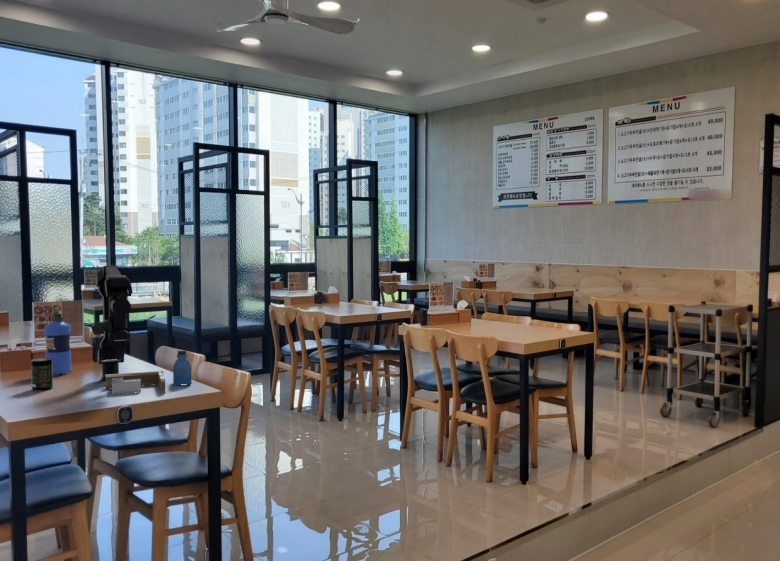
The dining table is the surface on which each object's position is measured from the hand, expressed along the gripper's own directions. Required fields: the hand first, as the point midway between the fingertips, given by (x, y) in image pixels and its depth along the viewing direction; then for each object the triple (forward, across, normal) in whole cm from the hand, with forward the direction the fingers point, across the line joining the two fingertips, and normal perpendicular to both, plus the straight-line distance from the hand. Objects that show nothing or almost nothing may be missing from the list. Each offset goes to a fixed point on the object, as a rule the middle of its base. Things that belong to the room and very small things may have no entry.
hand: (118, 357), depth 224 cm
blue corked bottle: (+12, -2, +21) cm, 24 cm away
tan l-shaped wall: (+11, +4, +5) cm, 13 cm away
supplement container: (+12, -14, -24) cm, 31 cm away
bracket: (+11, +3, +2) cm, 12 cm away
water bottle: (+13, -46, -21) cm, 52 cm away
